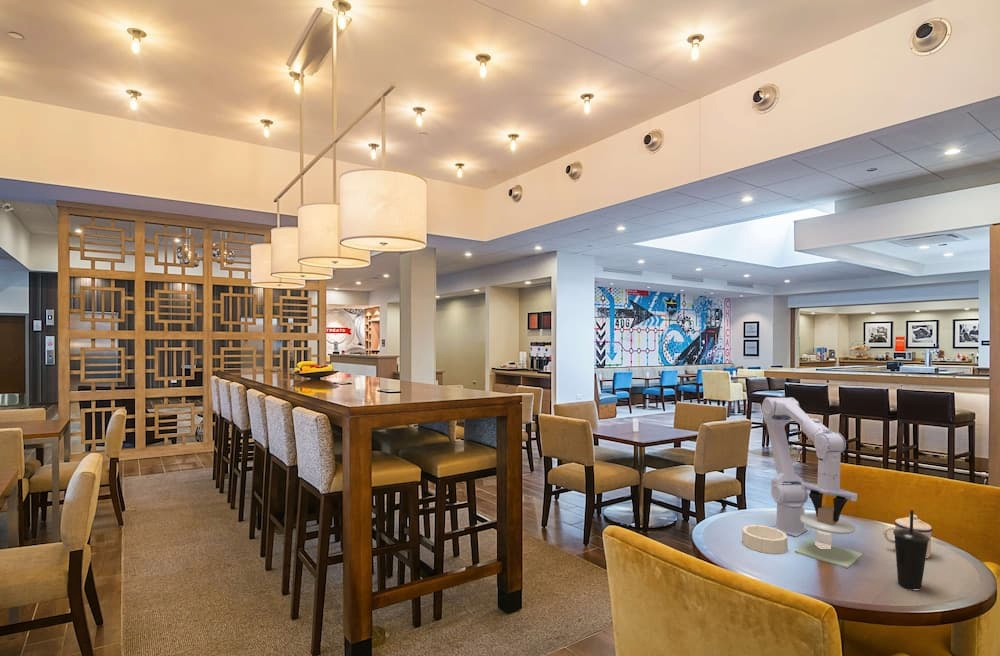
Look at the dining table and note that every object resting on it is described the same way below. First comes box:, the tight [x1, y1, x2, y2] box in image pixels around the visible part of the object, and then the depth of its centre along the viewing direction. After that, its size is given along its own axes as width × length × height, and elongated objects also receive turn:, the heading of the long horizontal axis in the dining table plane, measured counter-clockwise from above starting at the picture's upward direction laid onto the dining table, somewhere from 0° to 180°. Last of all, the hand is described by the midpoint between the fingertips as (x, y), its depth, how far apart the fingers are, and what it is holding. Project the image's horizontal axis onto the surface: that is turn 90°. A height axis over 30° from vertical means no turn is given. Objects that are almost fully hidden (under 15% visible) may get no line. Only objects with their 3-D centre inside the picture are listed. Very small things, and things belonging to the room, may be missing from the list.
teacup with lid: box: [883, 514, 933, 557], centre depth 165 cm, size 12×9×12 cm
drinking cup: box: [892, 509, 930, 590], centre depth 143 cm, size 8×8×20 cm
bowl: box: [741, 524, 789, 555], centre depth 168 cm, size 12×12×4 cm
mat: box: [793, 538, 864, 570], centre depth 163 cm, size 14×14×1 cm
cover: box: [800, 505, 856, 535], centre depth 163 cm, size 14×14×5 cm
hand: (827, 518), depth 163 cm, fingers closed on cover, 4 cm apart
